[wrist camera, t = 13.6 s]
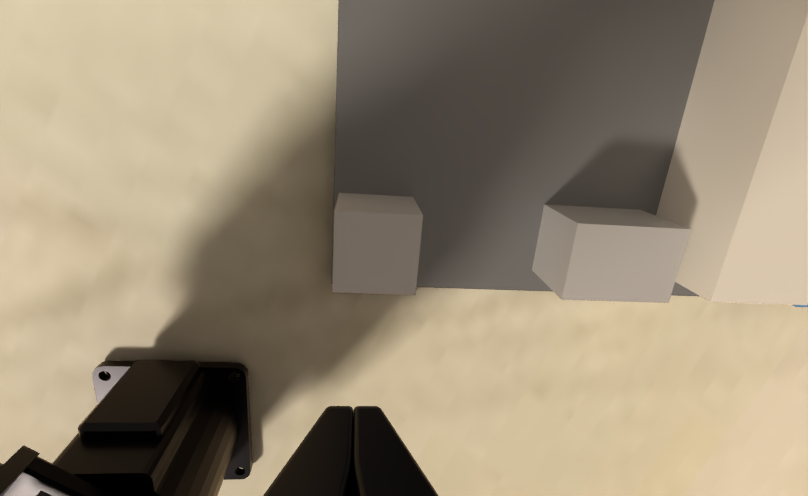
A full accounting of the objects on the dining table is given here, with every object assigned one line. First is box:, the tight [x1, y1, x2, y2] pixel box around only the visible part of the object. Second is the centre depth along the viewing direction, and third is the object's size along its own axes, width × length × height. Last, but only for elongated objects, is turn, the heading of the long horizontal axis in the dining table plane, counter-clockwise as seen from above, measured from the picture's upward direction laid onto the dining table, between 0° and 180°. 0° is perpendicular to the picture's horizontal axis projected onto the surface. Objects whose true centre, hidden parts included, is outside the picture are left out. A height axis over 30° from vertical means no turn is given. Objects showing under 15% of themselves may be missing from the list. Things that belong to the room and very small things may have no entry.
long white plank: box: [656, 0, 808, 305], centre depth 15 cm, size 16×4×4 cm, turn 175°
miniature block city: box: [332, 0, 808, 307], centre depth 15 cm, size 19×22×4 cm
